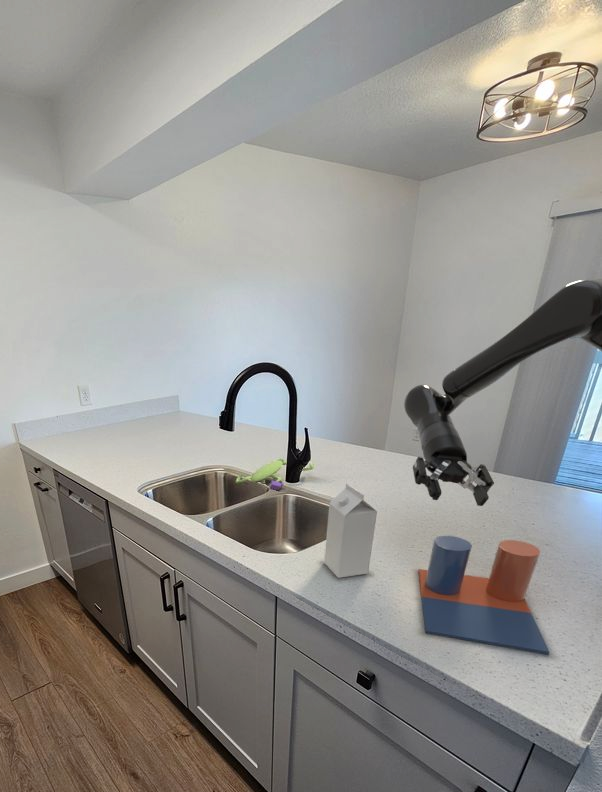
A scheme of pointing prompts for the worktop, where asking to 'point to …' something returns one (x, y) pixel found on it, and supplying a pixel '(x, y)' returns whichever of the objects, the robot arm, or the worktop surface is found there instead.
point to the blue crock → (447, 565)
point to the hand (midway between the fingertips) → (460, 500)
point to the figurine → (269, 474)
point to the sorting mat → (480, 617)
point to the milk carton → (349, 534)
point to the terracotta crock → (512, 570)
